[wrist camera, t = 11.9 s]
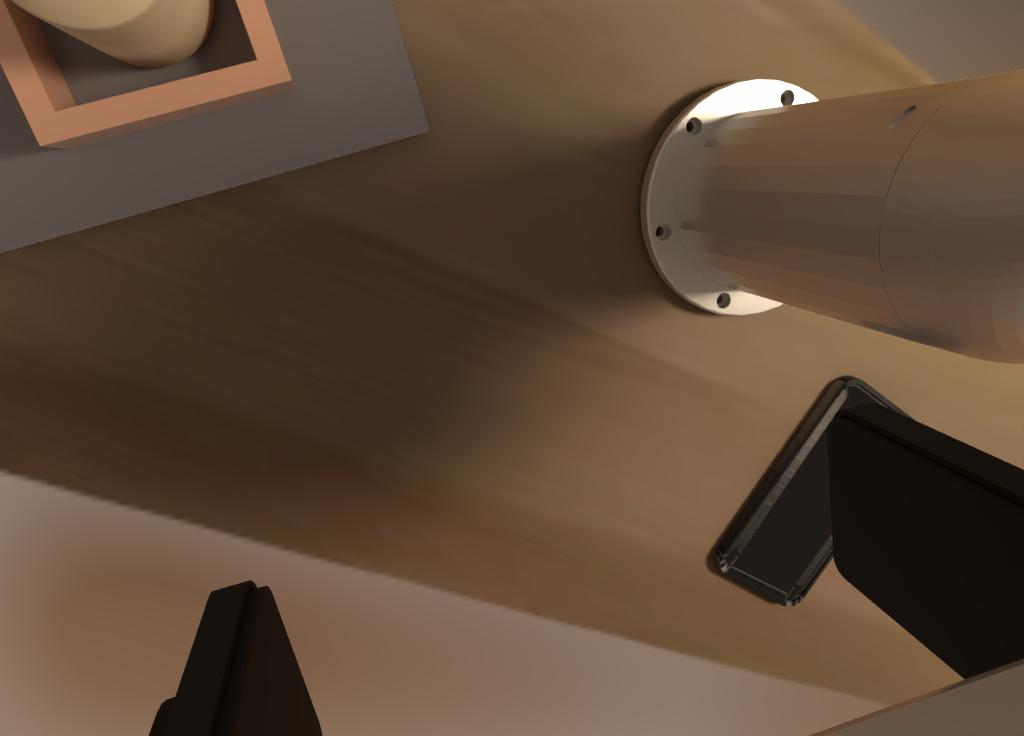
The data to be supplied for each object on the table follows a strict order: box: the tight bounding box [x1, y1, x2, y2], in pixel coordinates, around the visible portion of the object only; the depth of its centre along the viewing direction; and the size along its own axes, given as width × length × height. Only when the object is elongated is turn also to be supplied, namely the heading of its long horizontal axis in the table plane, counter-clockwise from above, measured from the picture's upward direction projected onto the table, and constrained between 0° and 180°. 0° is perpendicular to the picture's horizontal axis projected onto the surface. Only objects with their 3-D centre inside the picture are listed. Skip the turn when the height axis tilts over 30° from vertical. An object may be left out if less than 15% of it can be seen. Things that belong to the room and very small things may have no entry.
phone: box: [714, 375, 914, 607], centre depth 45 cm, size 8×1×15 cm
